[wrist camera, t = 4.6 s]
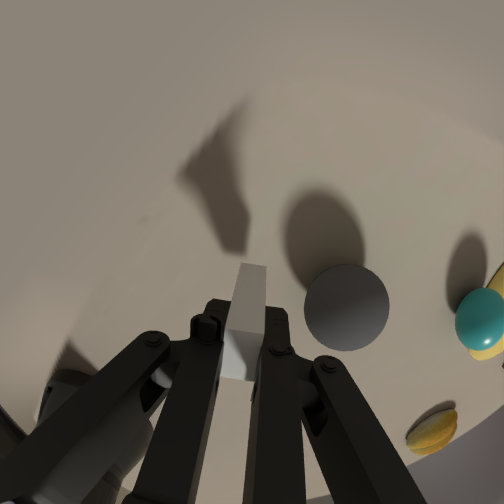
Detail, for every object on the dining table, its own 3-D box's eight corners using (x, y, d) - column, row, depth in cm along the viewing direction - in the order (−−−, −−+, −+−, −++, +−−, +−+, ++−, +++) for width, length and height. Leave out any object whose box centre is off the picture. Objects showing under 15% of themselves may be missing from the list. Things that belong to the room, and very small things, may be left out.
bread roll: (453, 398, 24) (465, 418, 21) (452, 423, 27) (461, 440, 23) (400, 429, 26) (409, 451, 22) (407, 448, 28) (414, 467, 25)
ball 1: (291, 315, 20) (299, 366, 15) (309, 245, 18) (327, 281, 13) (358, 323, 20) (381, 370, 15) (381, 258, 18) (417, 294, 13)
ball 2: (435, 328, 20) (464, 365, 15) (459, 273, 18) (497, 304, 13) (470, 329, 20) (497, 361, 15) (492, 280, 18) (526, 307, 13)
